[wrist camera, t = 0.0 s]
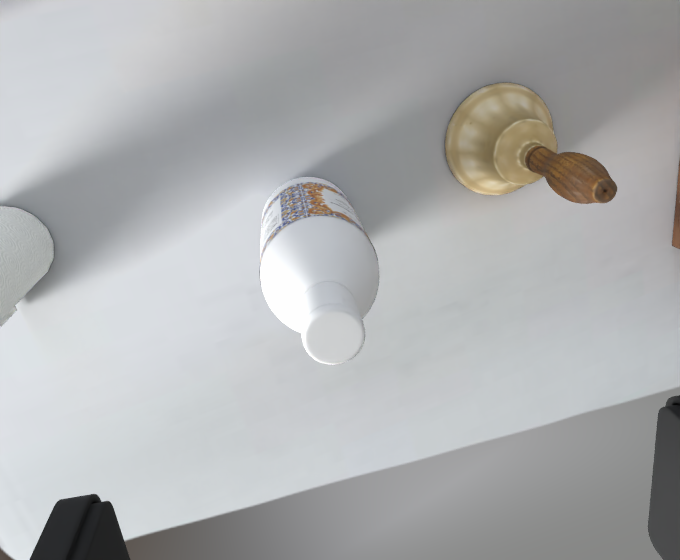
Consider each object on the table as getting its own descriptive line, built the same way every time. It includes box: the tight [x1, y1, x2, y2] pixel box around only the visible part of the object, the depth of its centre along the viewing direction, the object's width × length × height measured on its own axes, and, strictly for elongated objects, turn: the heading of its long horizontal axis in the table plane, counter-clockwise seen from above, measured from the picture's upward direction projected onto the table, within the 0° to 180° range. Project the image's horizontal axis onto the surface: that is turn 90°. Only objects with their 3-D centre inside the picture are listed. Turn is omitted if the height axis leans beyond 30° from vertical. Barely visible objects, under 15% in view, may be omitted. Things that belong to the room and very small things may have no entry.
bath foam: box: [260, 177, 379, 365], centre depth 37 cm, size 7×7×20 cm
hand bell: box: [445, 83, 617, 204], centre depth 38 cm, size 8×8×16 cm
